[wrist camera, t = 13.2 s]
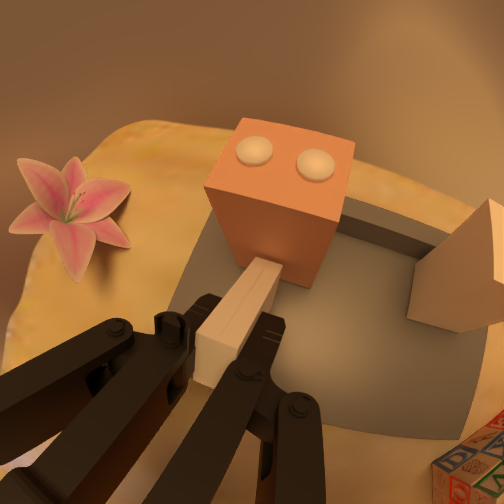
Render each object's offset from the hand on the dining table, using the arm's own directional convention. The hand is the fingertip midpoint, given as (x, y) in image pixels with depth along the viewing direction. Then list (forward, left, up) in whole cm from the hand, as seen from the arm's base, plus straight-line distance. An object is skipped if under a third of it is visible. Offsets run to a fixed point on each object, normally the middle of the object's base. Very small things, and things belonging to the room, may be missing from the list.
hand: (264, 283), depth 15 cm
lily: (+17, 0, -5) cm, 17 cm away
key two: (0, -3, -3) cm, 4 cm away
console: (-6, 0, -5) cm, 8 cm away
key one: (-12, -3, -3) cm, 13 cm away
